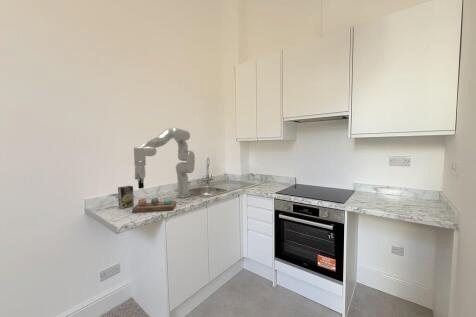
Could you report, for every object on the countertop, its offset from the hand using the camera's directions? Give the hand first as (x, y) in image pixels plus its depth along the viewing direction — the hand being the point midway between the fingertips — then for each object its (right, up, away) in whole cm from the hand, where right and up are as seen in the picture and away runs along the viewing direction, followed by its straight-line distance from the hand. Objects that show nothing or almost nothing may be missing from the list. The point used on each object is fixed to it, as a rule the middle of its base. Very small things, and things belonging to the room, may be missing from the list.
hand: (141, 188), depth 154 cm
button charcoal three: (+9, -12, +3) cm, 15 cm away
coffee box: (-16, -16, +9) cm, 25 cm away
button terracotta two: (0, -12, +1) cm, 12 cm away
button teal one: (+18, -12, +4) cm, 22 cm away
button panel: (+9, -16, +3) cm, 19 cm away
